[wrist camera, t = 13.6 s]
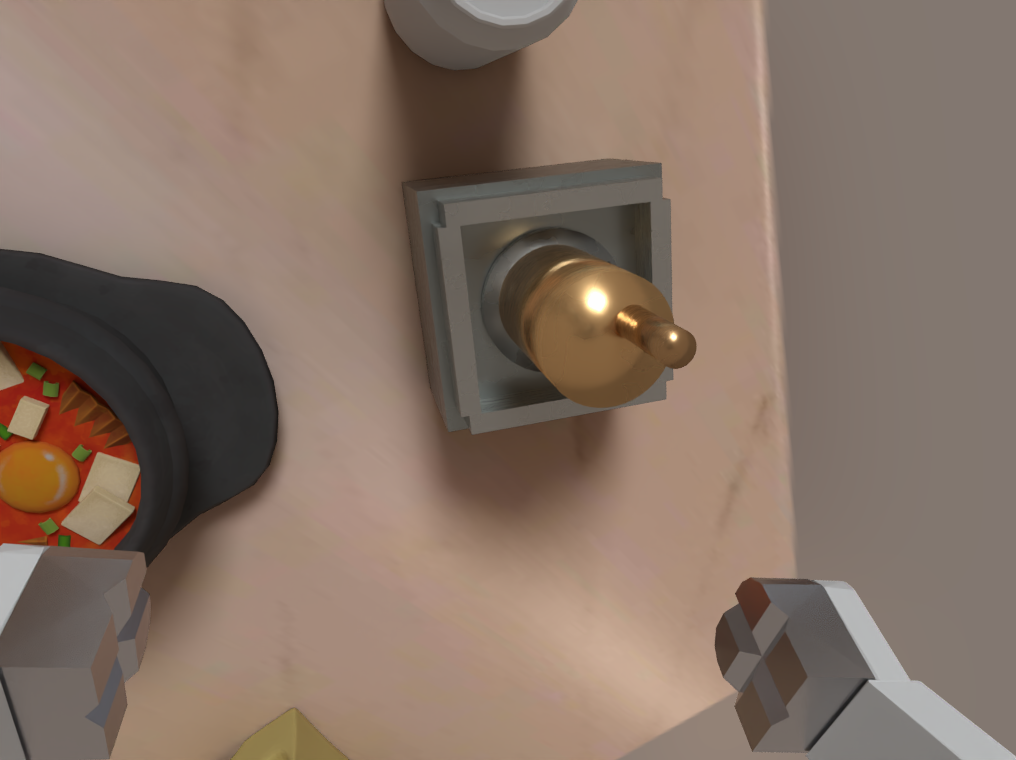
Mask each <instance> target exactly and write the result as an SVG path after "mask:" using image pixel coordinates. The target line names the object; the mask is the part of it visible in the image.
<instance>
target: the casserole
mask: <svg viewBox="0 0 1016 760" xmlns="http://www.w3.org/2000/svg"><path fill="white" fill-rule="evenodd" d="M277 429H278V406H277V399H276V393H275V386H274V380H273V378H272V375H271V373H270V370H269V367H268V365H267V362H266V360H265V357H264V354H263V352H262V350H261V348H260V346H259V345H258V343H257V342H256V340H255V338H254V337H253V335H252V334H251V332H250V330H249V329H248V327H247V326H246V324H245V322H244V321H243V320H242V319H241V318H240V317H239V316H238V315H237V314H236V313H235V312H234V311H233V310H232V309H231V308H230V307H229V306H228V305H227V304H226V303H225V302H224V301H223V300H222V299H220V298H218V297H216V296H214V295H212V294H210V293H209V292H207V291H205V290H203V289H201V288H199V287H197V286H193V285H187V284H180V283H173V282H167V281H160V280H150V279H140V278H130V277H121V276H117V275H114V274H110V273H107V272H104V271H100V270H97V269H93V268H90V267H86V266H83V265H79V264H76V263H72V262H69V261H65V260H62V259H59V258H55V257H52V256H48V255H45V254H41V253H33V252H24V251H14V250H5V249H0V546H1V545H2V544H3V543H6V544H24V545H42V546H61V547H76V548H91V549H105V550H120V551H135V552H142V553H144V556H145V562H146V568H147V567H148V566H149V565H150V563H151V562H152V561H153V560H154V559H155V558H156V556H157V555H158V554H159V553H160V552H161V550H162V549H163V548H164V547H165V546H166V544H167V542H168V540H169V539H170V538H171V537H173V536H174V535H175V534H176V533H178V532H179V531H180V530H181V529H183V528H184V527H185V526H186V525H187V524H189V523H190V522H191V521H192V520H194V519H195V518H196V517H197V516H199V515H200V514H202V513H204V512H206V511H208V510H210V509H212V508H214V507H215V506H217V505H219V504H221V503H223V502H225V501H227V500H229V499H230V498H232V497H234V496H236V495H237V494H239V493H241V492H242V491H244V490H246V489H247V488H249V487H251V486H252V485H254V484H255V483H256V482H257V480H258V479H259V478H260V476H261V475H262V474H263V473H264V471H265V470H266V469H267V467H268V466H269V465H270V462H271V458H272V455H273V452H274V449H275V445H276V442H277Z"/></svg>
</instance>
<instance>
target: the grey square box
mask: <svg viewBox="0 0 1016 760" xmlns="http://www.w3.org/2000/svg"><path fill="white" fill-rule="evenodd" d="M402 189H403V196H404V203H405V210H406V217H407V225H408V232H409V239H410V246H411V253H412V261H413V268H414V275H415V282H416V289H417V297H418V304H419V311H420V318H421V325H422V333H423V340H424V347H425V354H426V361H427V369H428V376H429V383H430V389H431V391H432V393H433V396H434V398H435V401H436V403H437V406H438V408H439V410H440V413H441V415H442V418H443V420H444V423H445V425H446V427H447V430H448V432H451V431H456V430H462V429H467V428H469V430H470V432H471V434H472V435H474V434H479V433H485V432H490V431H495V430H501V429H506V428H512V427H517V426H523V425H528V424H534V423H539V422H545V421H550V420H556V419H561V418H567V417H572V416H578V415H583V414H588V413H594V412H599V411H605V410H610V409H616V408H621V407H627V406H632V405H638V404H643V403H649V402H654V401H660V400H665V399H666V381H669V380H673V369H672V368H669V367H667V366H666V367H665V369H664V371H663V372H662V374H661V375H660V377H659V378H658V379H657V381H656V382H655V383H654V384H653V385H652V386H651V387H650V388H649V389H648V390H647V391H645V392H644V393H643V394H641V395H640V396H638V397H637V398H635V399H633V400H631V401H629V402H627V403H625V404H621V405H618V406H614V407H608V408H594V407H588V406H583V405H581V404H578V403H575V402H573V401H572V400H570V399H568V398H567V397H565V396H564V395H563V394H561V393H560V392H559V390H558V389H557V388H556V387H555V386H554V385H553V384H552V383H551V382H550V381H549V380H548V379H547V378H546V376H545V375H544V374H543V373H542V372H541V371H540V370H539V369H538V368H537V367H536V366H535V364H534V363H533V362H532V361H531V360H530V359H529V358H528V357H527V356H526V355H525V354H524V352H523V351H522V350H521V349H520V348H519V347H518V346H517V345H516V344H515V343H514V342H513V340H512V339H511V338H510V337H509V335H508V334H507V332H506V331H505V329H504V327H503V324H502V321H501V318H500V313H499V296H500V290H501V287H502V284H503V282H504V279H505V277H506V275H507V274H508V272H509V270H510V269H511V268H512V267H513V265H514V264H515V263H516V262H517V261H518V260H519V259H520V258H521V257H523V256H524V255H525V254H527V253H529V252H530V251H532V250H534V249H537V248H539V247H543V246H546V245H554V244H559V245H568V246H572V247H575V248H577V249H580V250H582V251H584V252H586V253H589V254H591V255H593V256H595V257H598V258H600V259H602V260H604V261H606V262H609V263H611V264H613V265H615V266H618V267H620V268H622V269H624V270H627V271H629V272H631V273H633V274H636V275H638V276H640V277H642V278H644V279H646V280H647V281H649V282H650V283H652V284H653V285H654V286H655V287H656V288H657V289H658V290H659V291H660V292H661V293H662V294H663V296H664V297H665V299H666V301H667V302H668V304H669V307H670V309H671V312H672V264H671V202H670V199H667V198H662V166H661V163H655V162H644V161H632V160H620V159H601V160H593V161H584V162H575V163H566V164H557V165H549V166H540V167H531V168H522V169H513V170H504V171H496V172H487V173H478V174H469V175H460V176H452V177H443V178H434V179H425V180H416V181H408V182H402Z"/></svg>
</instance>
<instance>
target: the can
mask: <svg viewBox="0 0 1016 760" xmlns="http://www.w3.org/2000/svg"><path fill="white" fill-rule="evenodd" d="M576 2H577V0H384V4H385V8H386V11H387V13H388V15H389V18H390V20H391V22H392V25H393V27H394V29H395V31H396V33H397V34H398V35H399V36H400V38H401V39H402V40H403V41H404V42H405V44H406V45H407V46H408V47H409V48H410V50H411V51H412V52H414V53H415V54H417V55H418V56H420V57H421V58H423V59H425V60H426V61H428V62H429V63H431V64H432V65H436V66H440V67H444V68H448V69H451V70H464V69H476V68H478V67H481V66H483V65H485V64H488V63H490V62H492V61H495V60H497V59H499V58H501V57H504V56H506V55H508V54H511V53H513V52H515V51H517V50H520V49H522V48H524V47H526V46H529V45H531V44H533V43H535V42H537V41H539V40H542V39H544V38H546V37H548V36H549V35H550V34H551V33H552V32H553V31H554V30H555V29H556V28H557V27H558V26H559V25H560V24H561V23H562V22H563V21H564V20H565V19H567V18H568V17H569V15H570V13H571V11H572V10H573V8H574V6H575V4H576Z"/></svg>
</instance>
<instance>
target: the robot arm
mask: <svg viewBox="0 0 1016 760" xmlns="http://www.w3.org/2000/svg"><path fill="white" fill-rule="evenodd" d="M146 572H147V568H146V562H145V556H144V553H142V552H135V551H120V550H105V549H91V548H76V547H61V546H42V545H24V544H6V543H3V544H2V545H1V546H0V760H100V759H110V756H111V753H112V750H113V747H114V744H115V741H116V738H117V735H118V732H119V729H120V726H121V723H122V720H123V717H124V714H125V711H126V708H127V705H128V704H127V697H126V691H125V684H124V683H125V682H126V681H127V680H128V679H129V678H131V677H132V676H133V675H134V674H135V673H136V672H137V671H139V668H140V665H141V662H142V658H143V655H144V652H145V649H146V643H147V638H148V633H149V628H150V616H151V603H150V594H149V593H148V592H146V591H145V590H144V589H143V588H142V587H141V586H142V583H143V580H144V577H145V575H146ZM735 594H736V597H737V600H738V602H739V604H737V605H736V606H734V607H733V608H731V609H729V610H728V611H726V612H725V613H724V614H723V616H722V617H721V619H720V621H719V623H718V625H717V627H716V636H715V651H716V657H717V662H718V665H719V667H720V670H721V673H722V675H723V678H724V679H725V680H726V681H728V682H729V683H730V684H731V685H732V686H733V687H734V688H735V689H736V690H737V691H738V696H737V699H736V703H735V709H736V711H737V714H738V717H739V719H740V722H741V724H742V727H743V729H744V732H745V734H746V737H747V739H748V742H749V745H750V747H751V749H752V752H795V753H808V754H807V755H806V757H807V758H808V759H809V760H1016V756H1014V755H1013V754H1012V753H1011V752H1009V751H1008V750H1007V749H1005V748H1004V747H1003V746H1002V745H1000V744H999V743H998V742H997V741H995V740H994V739H993V738H992V737H990V736H989V735H988V734H986V733H985V732H984V731H983V730H981V729H980V728H979V727H978V726H976V725H975V724H974V723H973V722H971V721H970V720H969V719H967V718H966V717H965V716H964V715H962V714H961V713H960V712H959V711H957V710H956V709H955V708H954V707H952V706H951V705H950V704H948V703H947V702H946V701H944V700H943V699H942V698H941V697H940V696H938V695H937V694H936V693H934V692H933V691H932V690H931V689H929V688H928V687H927V686H925V685H924V684H923V683H922V682H920V681H914V680H910V679H909V677H908V676H907V674H906V673H905V671H904V669H903V668H902V666H901V664H900V663H899V661H898V660H897V658H896V656H895V655H894V653H893V651H892V650H891V648H890V647H889V645H888V643H887V642H886V640H885V638H884V637H883V635H882V634H881V632H880V631H879V629H878V627H877V626H876V624H875V622H874V621H873V619H872V617H871V616H870V614H869V613H868V611H867V609H866V608H865V606H864V604H863V603H862V601H861V600H860V598H859V596H858V595H857V593H856V591H855V590H854V589H853V588H852V587H851V586H850V585H849V584H847V583H846V582H844V581H824V580H808V579H786V578H752V577H750V578H749V579H747V580H745V581H743V582H742V583H741V585H740V586H739V588H738V590H737V591H736V593H735Z"/></svg>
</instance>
